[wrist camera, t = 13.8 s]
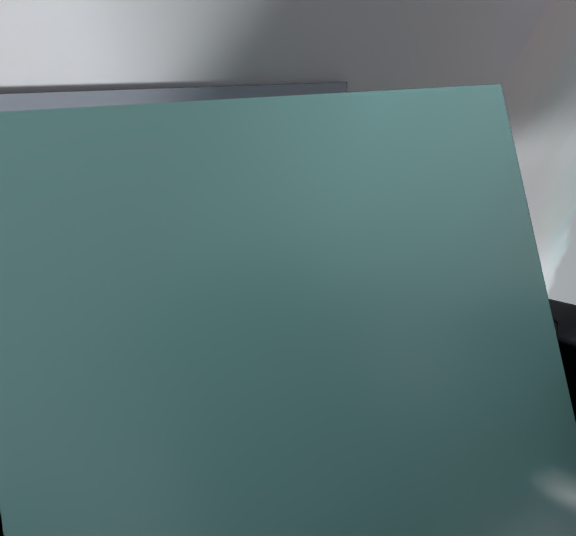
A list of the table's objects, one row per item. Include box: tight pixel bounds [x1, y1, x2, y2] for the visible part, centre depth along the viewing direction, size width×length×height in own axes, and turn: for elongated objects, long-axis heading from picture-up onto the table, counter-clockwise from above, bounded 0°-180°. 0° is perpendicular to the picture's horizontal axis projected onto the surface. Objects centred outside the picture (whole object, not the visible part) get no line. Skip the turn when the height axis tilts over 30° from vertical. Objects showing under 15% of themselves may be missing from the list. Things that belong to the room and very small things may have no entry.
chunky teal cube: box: [0, 84, 576, 536], centre depth 7 cm, size 8×8×8 cm
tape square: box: [0, 82, 347, 112], centre depth 10 cm, size 10×10×1 cm
